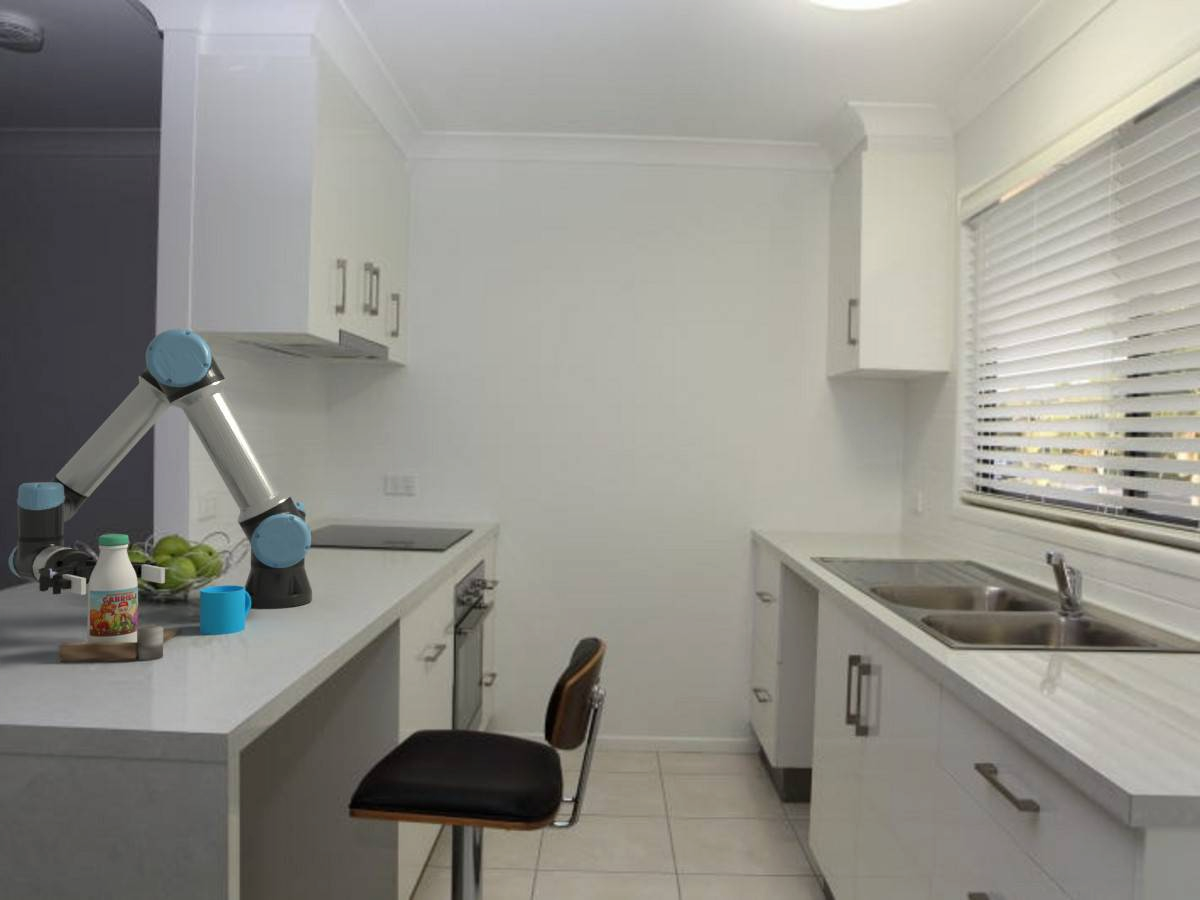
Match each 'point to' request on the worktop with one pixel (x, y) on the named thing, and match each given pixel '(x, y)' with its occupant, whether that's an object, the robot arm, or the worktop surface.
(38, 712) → the worktop surface
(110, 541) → the milk bottle
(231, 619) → the mug
